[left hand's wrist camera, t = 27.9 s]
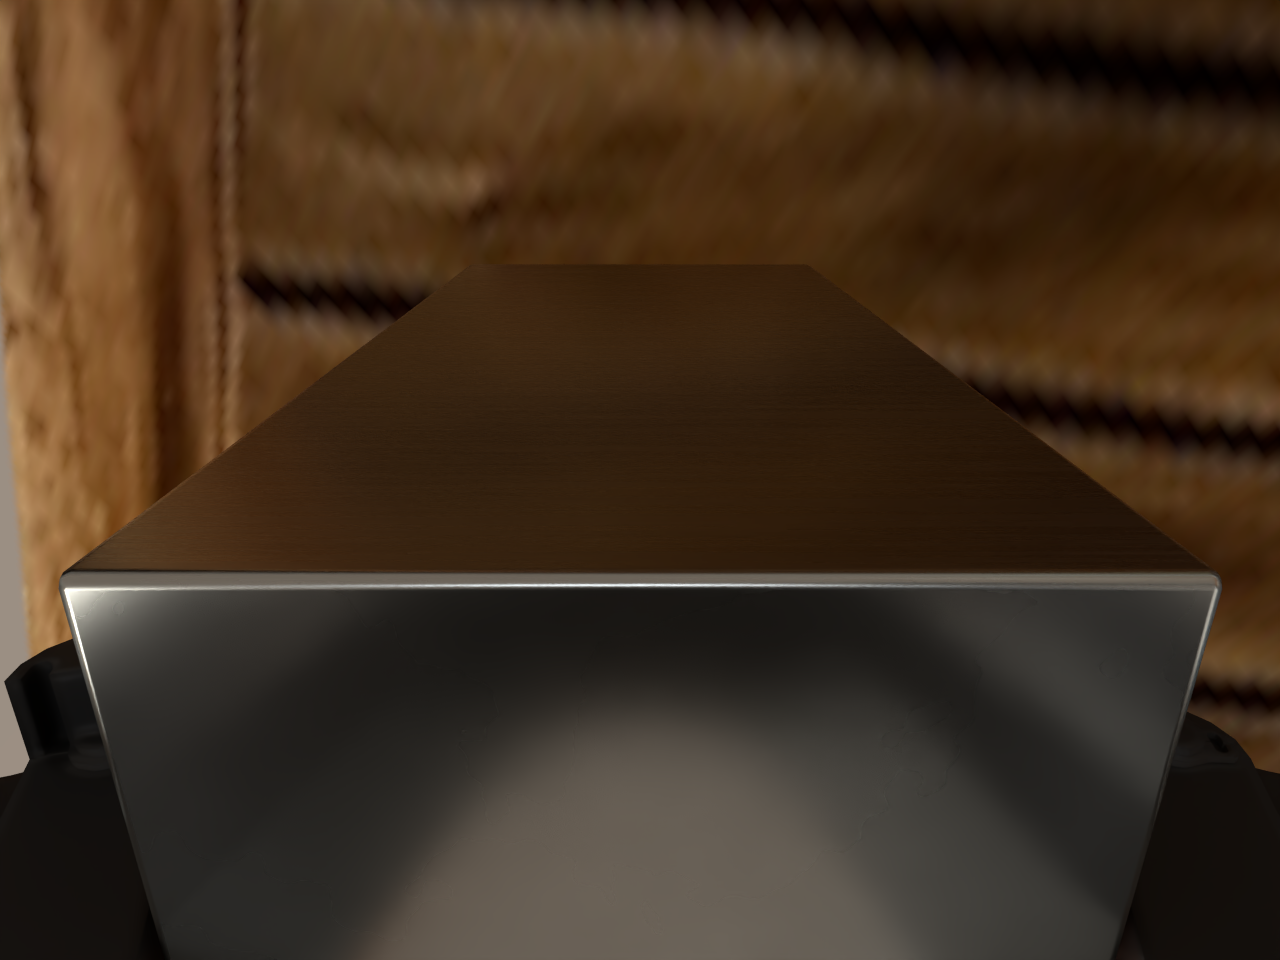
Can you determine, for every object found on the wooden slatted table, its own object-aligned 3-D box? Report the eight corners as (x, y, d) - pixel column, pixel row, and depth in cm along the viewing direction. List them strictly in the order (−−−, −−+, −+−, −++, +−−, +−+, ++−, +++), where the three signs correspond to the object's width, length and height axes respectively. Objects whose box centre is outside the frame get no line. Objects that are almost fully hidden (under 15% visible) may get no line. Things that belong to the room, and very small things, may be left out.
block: (810, 263, 15) (1236, 576, 4) (784, 630, 18) (1002, 1374, 7) (468, 263, 15) (47, 576, 4) (495, 630, 18) (277, 1374, 7)
